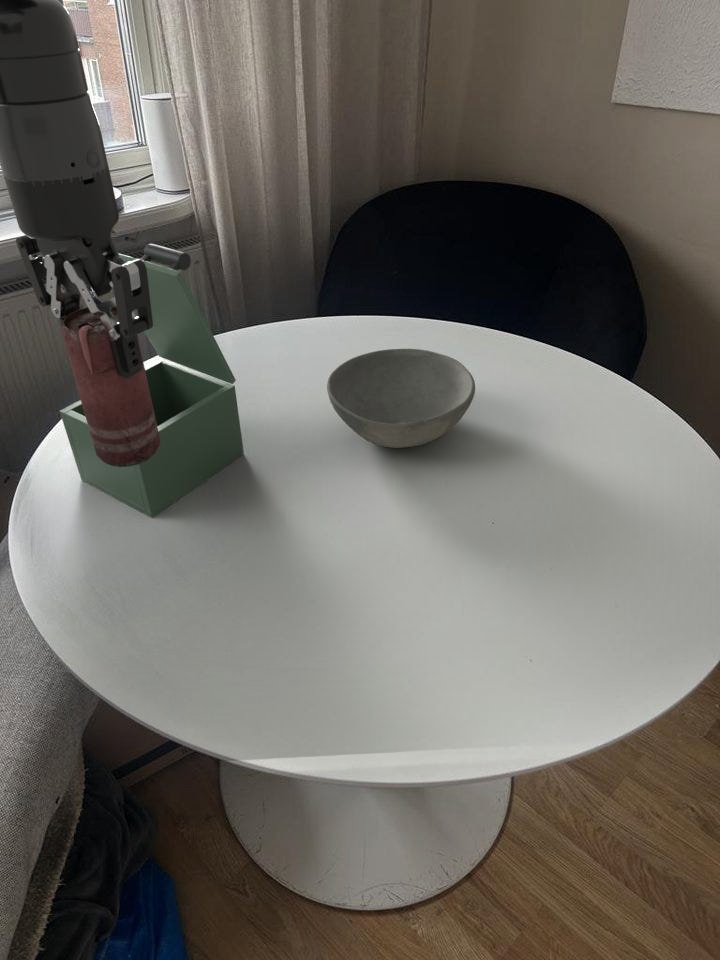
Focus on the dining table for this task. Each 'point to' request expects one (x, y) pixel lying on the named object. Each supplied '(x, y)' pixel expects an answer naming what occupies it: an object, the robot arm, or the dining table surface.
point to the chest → (166, 439)
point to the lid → (179, 316)
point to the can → (110, 394)
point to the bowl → (401, 395)
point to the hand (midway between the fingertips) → (106, 362)
